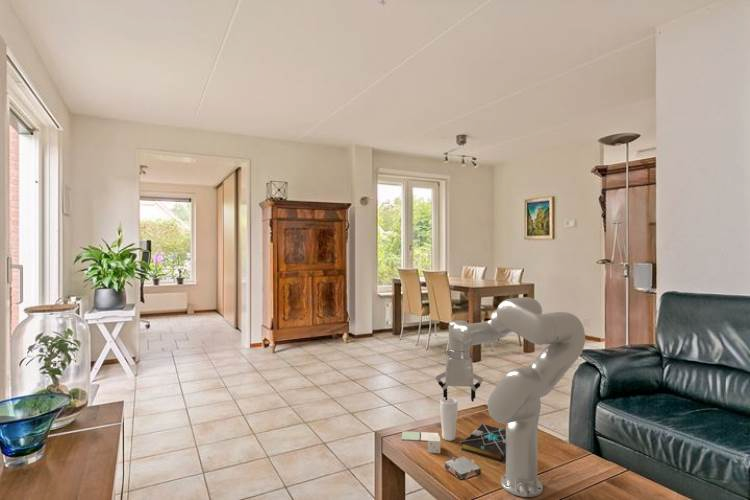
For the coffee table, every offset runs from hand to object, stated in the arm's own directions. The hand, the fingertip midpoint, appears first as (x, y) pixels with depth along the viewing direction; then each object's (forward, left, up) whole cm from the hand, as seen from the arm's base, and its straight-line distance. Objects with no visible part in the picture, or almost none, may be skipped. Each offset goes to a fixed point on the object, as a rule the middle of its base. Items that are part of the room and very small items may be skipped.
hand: (459, 399), depth 161 cm
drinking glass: (+9, +3, -19) cm, 21 cm away
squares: (+9, +15, -19) cm, 26 cm away
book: (+5, -13, -20) cm, 24 cm away
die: (-1, +9, -19) cm, 21 cm away
